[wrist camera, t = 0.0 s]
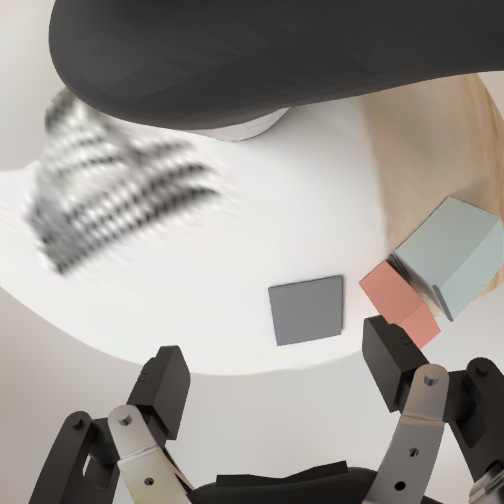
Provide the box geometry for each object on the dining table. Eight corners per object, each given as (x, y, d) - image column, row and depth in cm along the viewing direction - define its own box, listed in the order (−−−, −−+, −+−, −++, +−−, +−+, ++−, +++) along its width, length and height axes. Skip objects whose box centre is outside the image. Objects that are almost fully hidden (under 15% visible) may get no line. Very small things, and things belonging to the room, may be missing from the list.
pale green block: (407, 286, 29) (445, 328, 21) (387, 256, 28) (429, 297, 19) (463, 229, 26) (509, 256, 18) (448, 195, 25) (500, 217, 17)
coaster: (268, 288, 29) (268, 290, 28) (339, 275, 29) (341, 278, 28) (276, 342, 32) (277, 346, 31) (339, 331, 32) (341, 334, 31)
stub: (380, 309, 31) (411, 356, 22) (358, 283, 29) (391, 331, 21) (403, 288, 29) (440, 331, 21) (384, 260, 28) (424, 301, 20)
